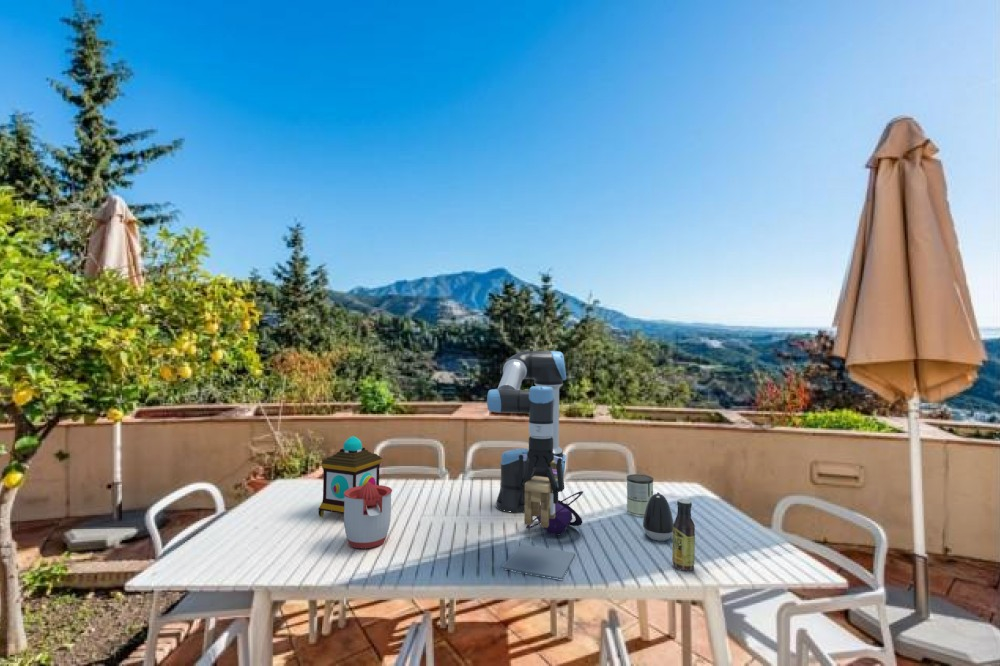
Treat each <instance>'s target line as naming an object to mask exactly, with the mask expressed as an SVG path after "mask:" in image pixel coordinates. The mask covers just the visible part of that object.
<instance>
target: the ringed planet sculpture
mask: <svg viewBox="0 0 1000 666" xmlns="http://www.w3.org/2000/svg"><path fill="white" fill-rule="evenodd" d="M550 464H551V467H552V471H553V474H554V475H557V469H556V465H557V464H555V461H554V460H553V461H552V462H551V463H550ZM554 477H555V478H556V483H557V486H558V482H557V481H558V478H557V476H554ZM583 494H584V491H578V492H576V493H573V494H571V495H569V496H567V497H566V498H564V499H562V500H560V499H558V503H557V504H556V510H555V518H554V519H550V518H549V526H548V527H547V528H546V527H542V528H543V529H544V530H545V531H546V533H547V534H548V535H557V534H560V535H562V534H563V532H564V531H565V530H566V529H567V527H568V526H570V527H571V526H572V527H580V526H582V524H583V519H582V517H581V516H580V514H578V513H577V511H576V510H575V509H573V508H572V507H571V506H570V505H571V504H572V503H574V502H575V501H576V500H578V499H579V497H581V496H582V495H583ZM575 496H576V497H575ZM572 497H575V498H573V499H572V500H571V501H570V502H569V503H565V501H566V500H568V499H570V498H572ZM573 516H574V517H575V520H574V521H573ZM536 520H537V521H538V522H537V523H535V524H532V525H525V528H524V529H525V530H529V529H531V528H534V527H536V526H539V525H541V504H540V516H539V517H535V518H533V522H535V521H536Z"/></svg>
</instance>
